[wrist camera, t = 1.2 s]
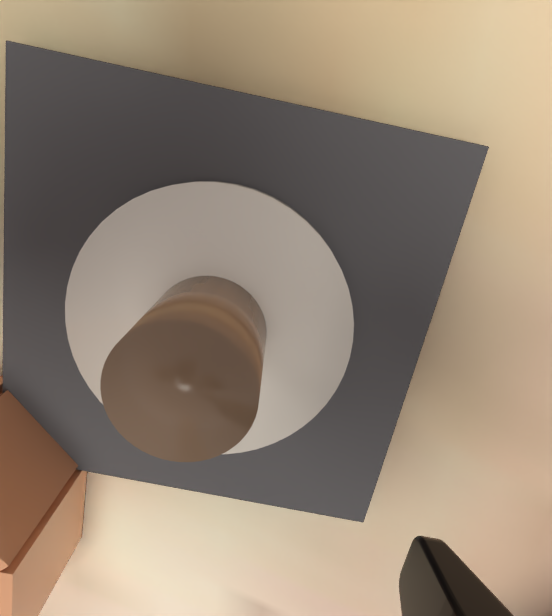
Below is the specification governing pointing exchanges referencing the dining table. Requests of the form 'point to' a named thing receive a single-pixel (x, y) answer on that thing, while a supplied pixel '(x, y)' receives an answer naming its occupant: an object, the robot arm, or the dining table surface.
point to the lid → (208, 320)
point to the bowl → (34, 509)
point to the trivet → (251, 173)
